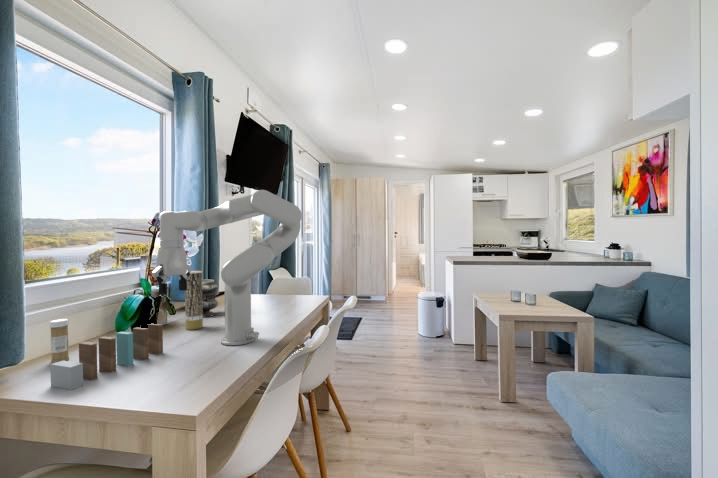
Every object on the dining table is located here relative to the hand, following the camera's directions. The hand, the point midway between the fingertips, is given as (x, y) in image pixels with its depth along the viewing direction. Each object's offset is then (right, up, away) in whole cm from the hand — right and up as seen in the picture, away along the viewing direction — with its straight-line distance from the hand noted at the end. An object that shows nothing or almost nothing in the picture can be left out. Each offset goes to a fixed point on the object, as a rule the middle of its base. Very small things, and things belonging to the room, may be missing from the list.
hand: (173, 292), depth 127 cm
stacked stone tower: (-10, -20, +50) cm, 55 cm away
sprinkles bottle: (-30, -21, -14) cm, 39 cm away
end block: (-11, -20, -33) cm, 41 cm away
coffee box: (-25, -20, +30) cm, 44 cm away
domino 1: (-9, -20, -28) cm, 36 cm away
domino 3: (-6, -20, -18) cm, 27 cm away
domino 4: (-4, -20, -12) cm, 24 cm away
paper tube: (-4, -20, +25) cm, 32 cm away
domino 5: (-2, -20, -7) cm, 21 cm away
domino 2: (-8, -20, -23) cm, 31 cm away
